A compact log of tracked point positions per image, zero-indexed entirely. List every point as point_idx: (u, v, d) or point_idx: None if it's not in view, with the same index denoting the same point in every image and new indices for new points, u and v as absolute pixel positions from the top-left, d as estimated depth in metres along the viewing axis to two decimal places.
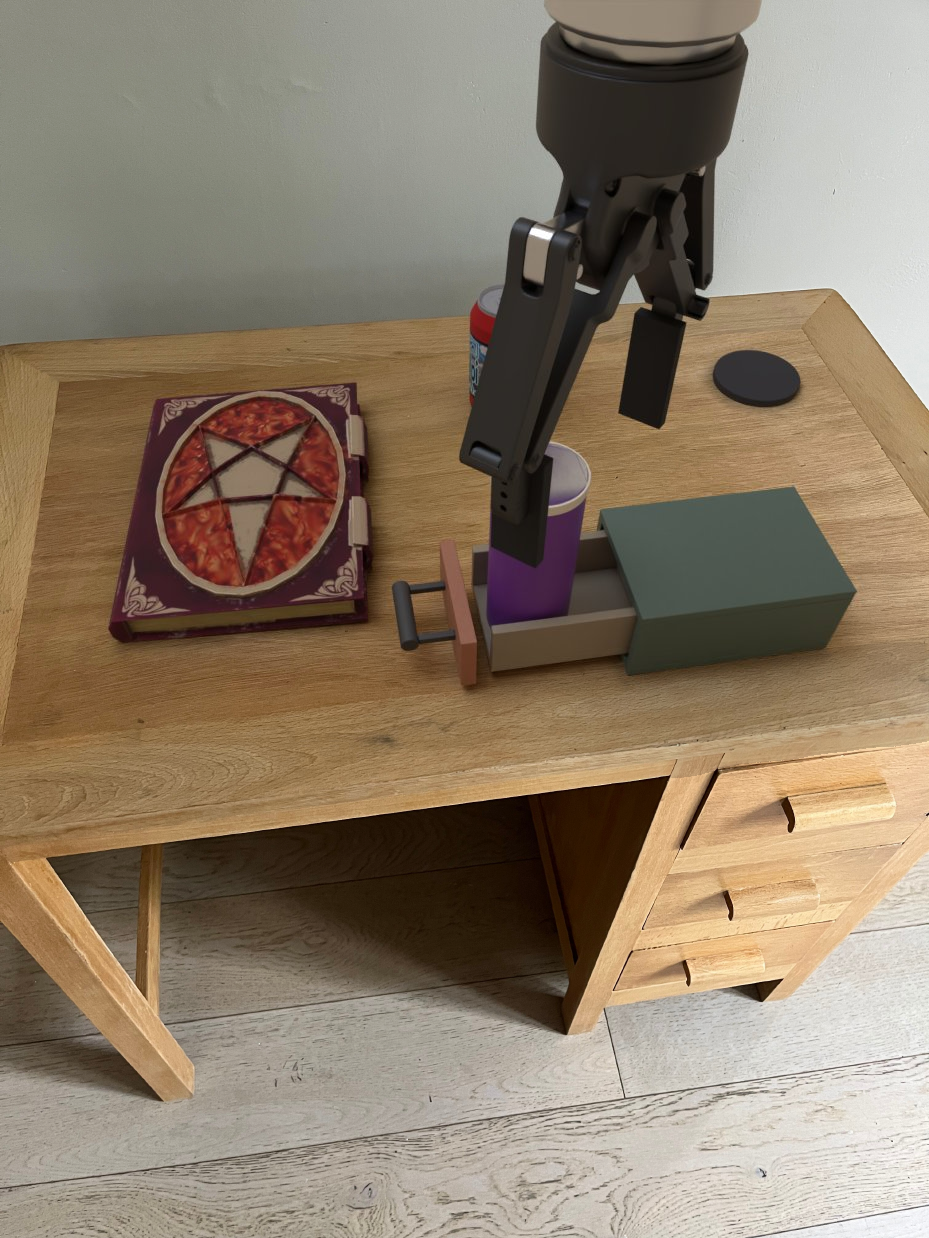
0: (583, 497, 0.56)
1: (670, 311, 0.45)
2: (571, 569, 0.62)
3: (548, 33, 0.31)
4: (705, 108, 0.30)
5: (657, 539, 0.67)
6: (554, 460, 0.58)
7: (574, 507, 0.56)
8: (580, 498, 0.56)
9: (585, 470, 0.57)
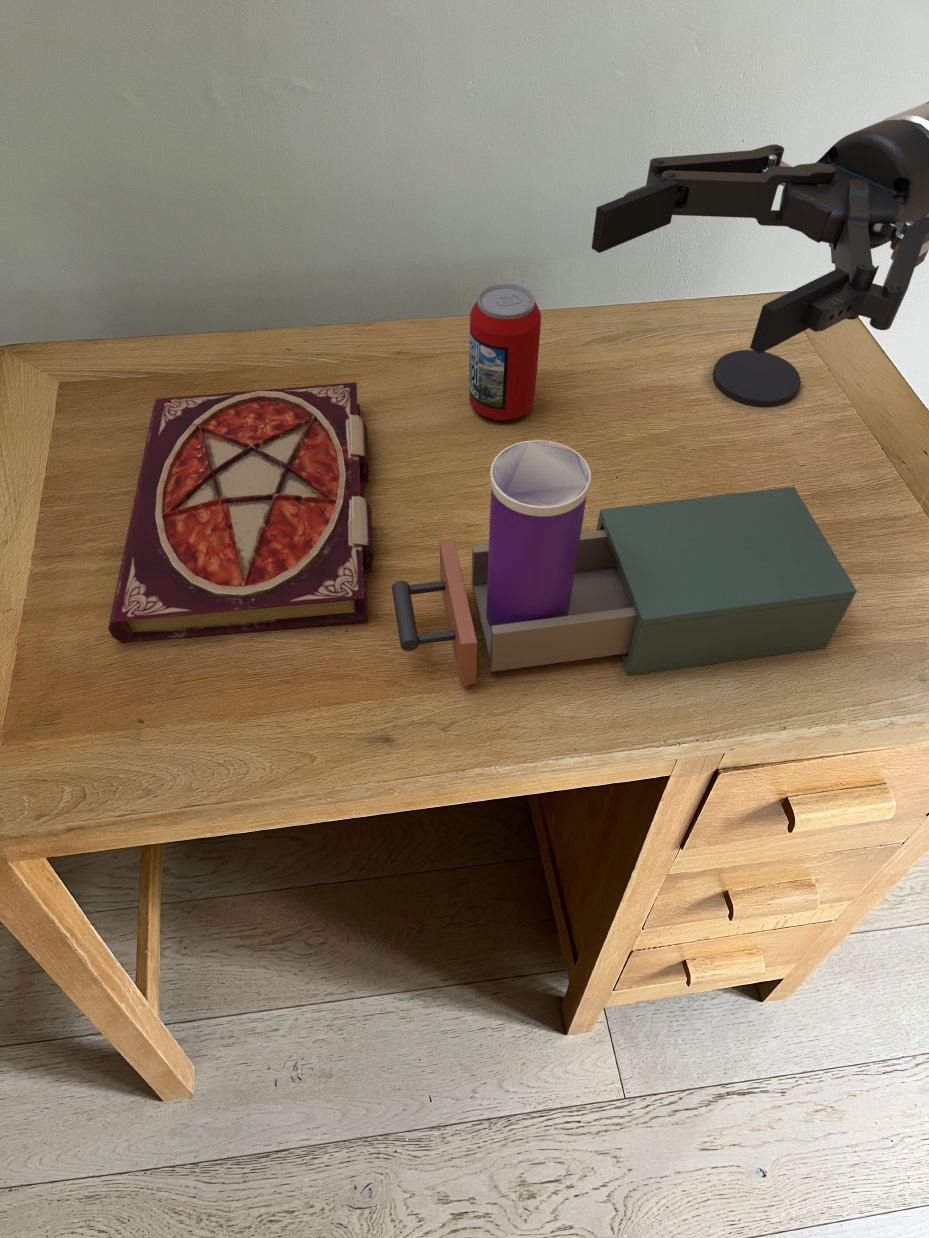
0: (583, 497, 0.56)
1: None
2: (571, 569, 0.62)
3: None
4: (878, 124, 0.57)
5: (657, 539, 0.67)
6: (554, 460, 0.58)
7: (574, 507, 0.56)
8: (580, 498, 0.56)
9: (585, 470, 0.57)
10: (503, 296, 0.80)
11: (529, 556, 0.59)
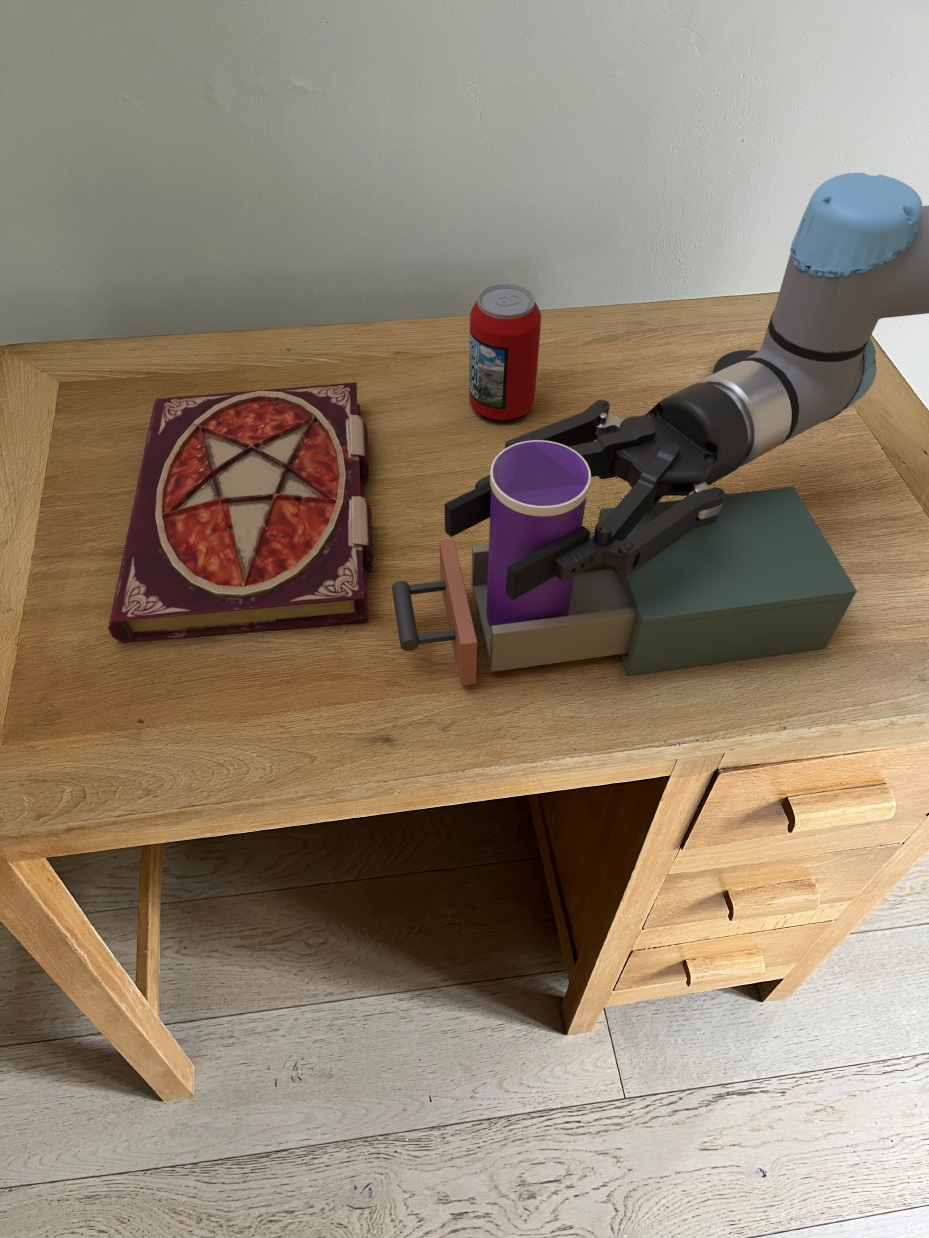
0: (583, 497, 0.56)
1: None
2: None
3: None
4: (696, 387, 0.65)
5: None
6: (554, 460, 0.58)
7: (574, 507, 0.56)
8: (580, 498, 0.56)
9: (585, 470, 0.57)
10: (503, 296, 0.80)
11: None
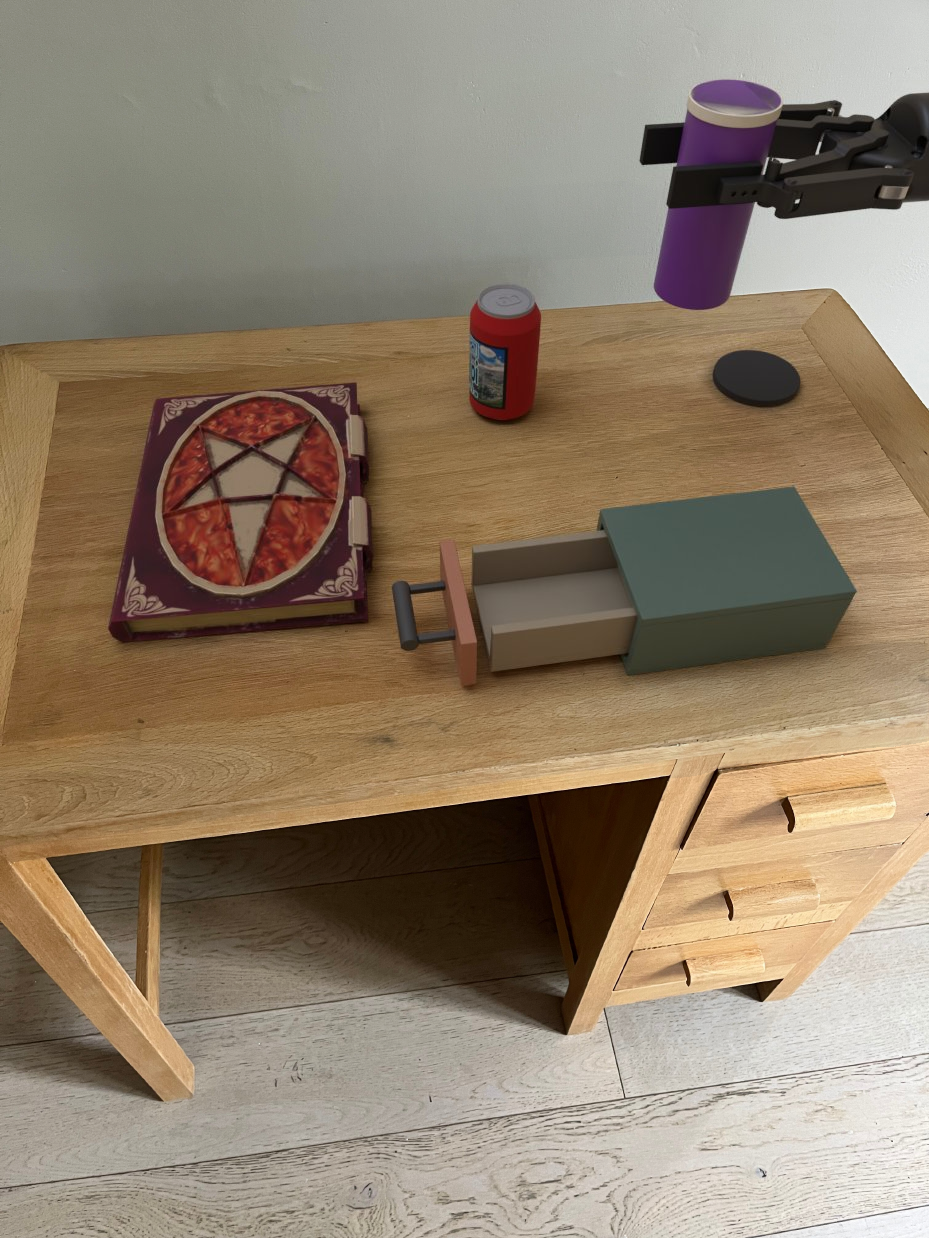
0: (764, 120, 0.60)
1: None
2: (738, 220, 0.66)
3: None
4: None
5: (657, 539, 0.67)
6: (754, 93, 0.62)
7: (752, 126, 0.60)
8: (761, 118, 0.60)
9: (778, 103, 0.61)
10: (503, 296, 0.80)
11: None
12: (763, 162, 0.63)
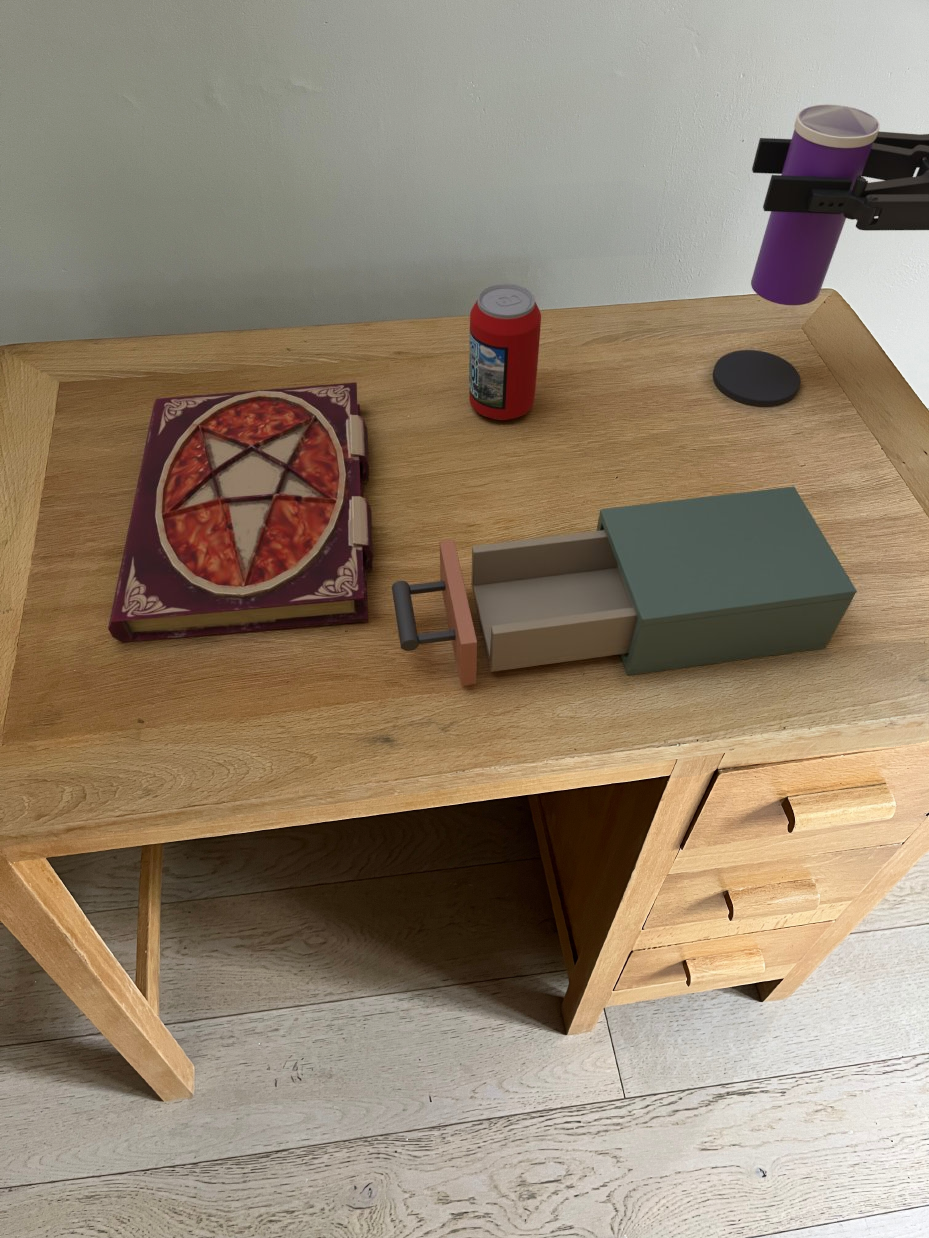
0: (857, 143, 0.70)
1: None
2: (828, 228, 0.75)
3: None
4: None
5: (657, 539, 0.67)
6: (856, 119, 0.72)
7: (846, 147, 0.70)
8: (854, 140, 0.70)
9: (873, 129, 0.70)
10: (503, 296, 0.80)
11: None
12: (855, 179, 0.73)
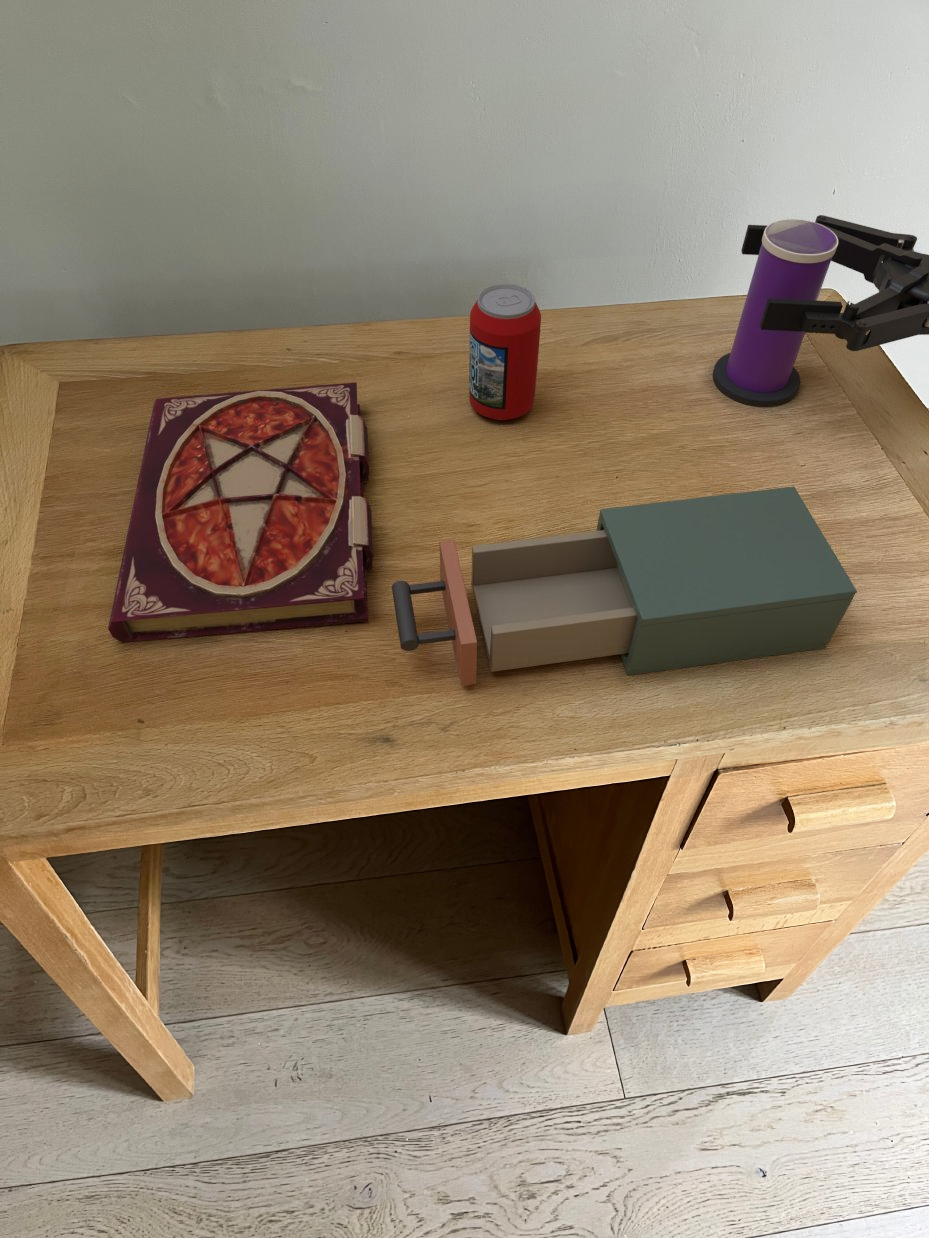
0: (818, 259, 0.78)
1: None
2: None
3: None
4: None
5: (657, 539, 0.67)
6: (817, 235, 0.79)
7: (807, 262, 0.78)
8: (814, 257, 0.77)
9: (832, 246, 0.78)
10: (503, 296, 0.80)
11: (765, 295, 0.82)
12: (817, 288, 0.81)
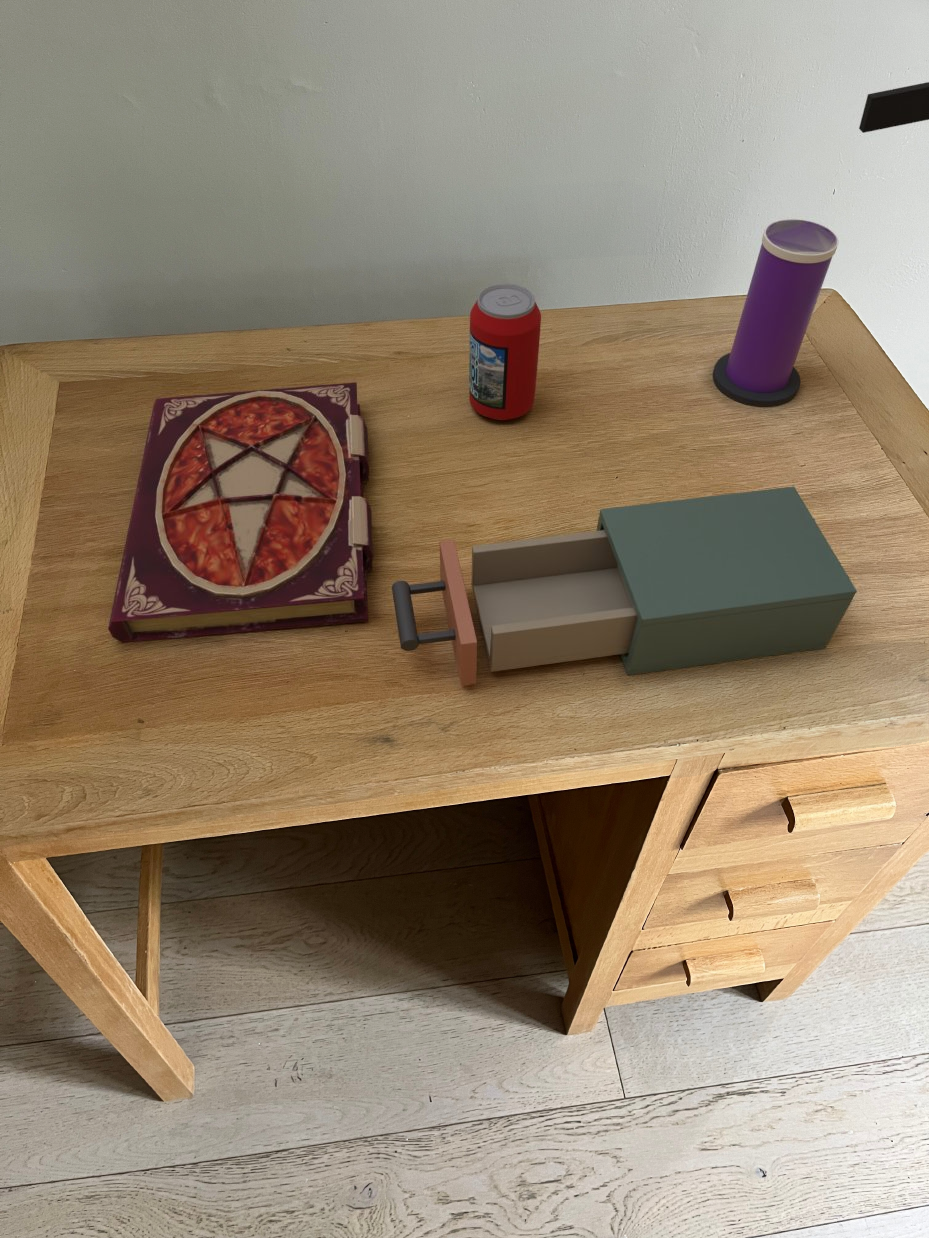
0: (818, 259, 0.78)
1: None
2: (794, 328, 0.83)
3: None
4: None
5: (657, 539, 0.67)
6: (817, 235, 0.79)
7: (807, 262, 0.78)
8: (814, 257, 0.77)
9: (832, 246, 0.78)
10: (503, 296, 0.80)
11: (765, 295, 0.82)
12: (817, 288, 0.81)
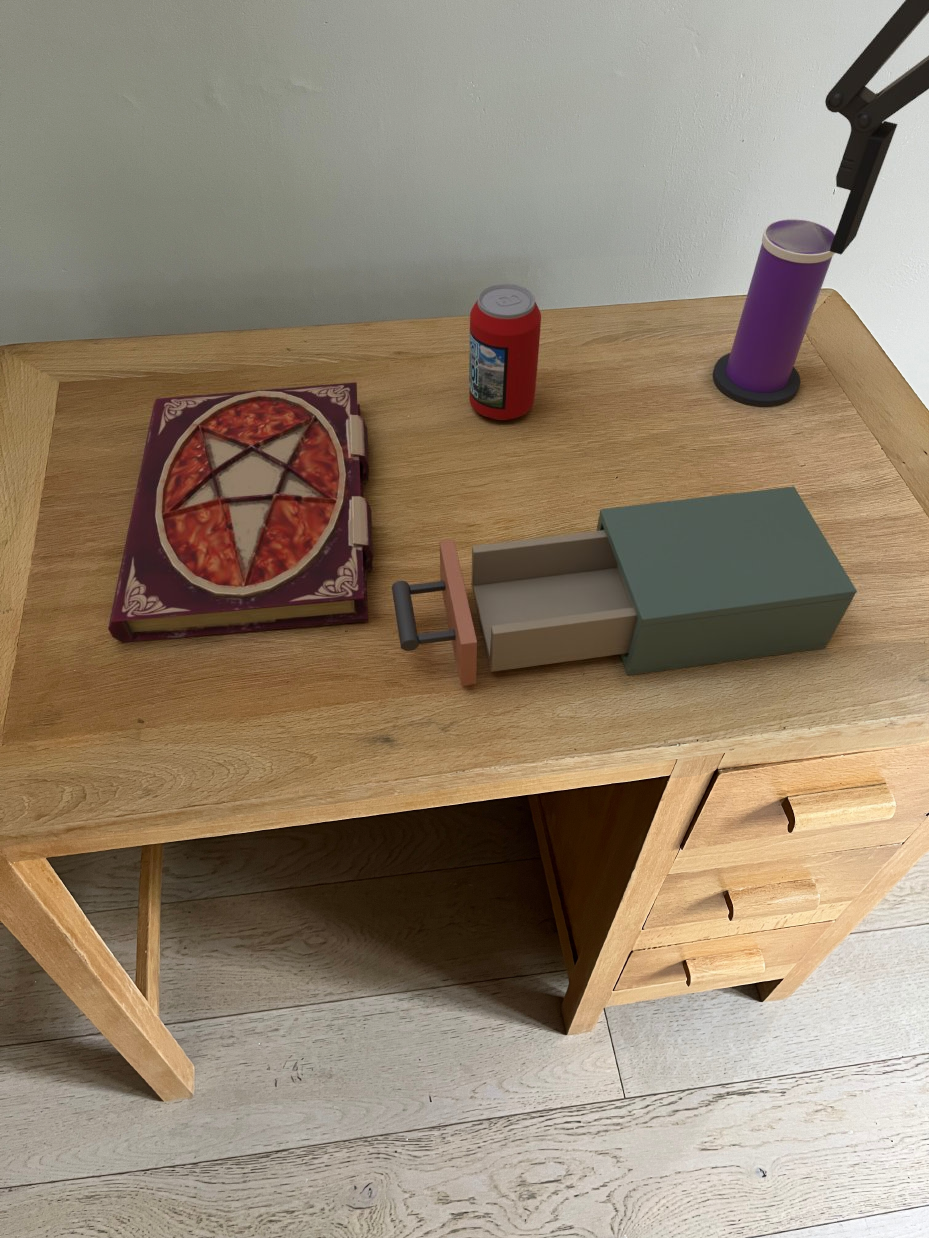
0: (818, 259, 0.78)
1: None
2: (794, 328, 0.83)
3: None
4: None
5: (657, 539, 0.67)
6: (817, 235, 0.79)
7: (807, 262, 0.78)
8: (814, 257, 0.77)
9: None
10: (503, 296, 0.80)
11: (765, 295, 0.82)
12: (817, 288, 0.81)
